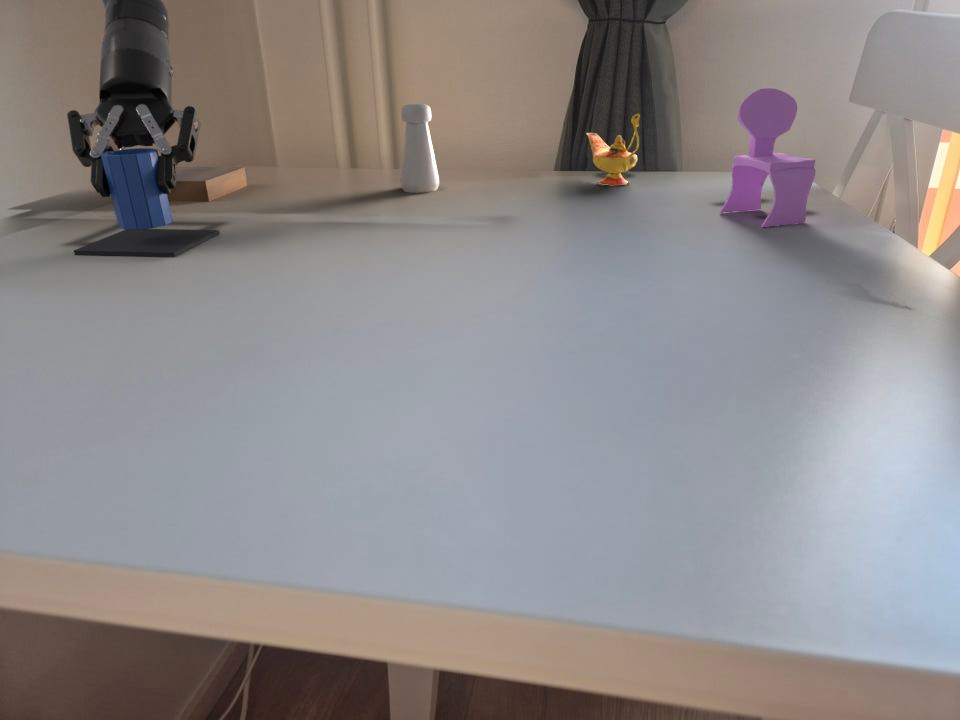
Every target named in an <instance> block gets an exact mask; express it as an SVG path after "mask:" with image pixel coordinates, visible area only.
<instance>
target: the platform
mask: <svg viewBox="0 0 960 720" xmlns="http://www.w3.org/2000/svg"><path fill="white" fill-rule="evenodd" d="M245 169H246V168H245V167H244V166H176V186H175V188H174V189H171V193H170V194H167V196H168V201H169V202H199V203H201V202H202V203H203V202H204V203H205V202H206V203H210V202H212V201H215V200H217V199H219V198H221V197H224V196H226V195H228V194H232V193H234V192H236V191H238V190H241V189H243V188H246V187H247V186H248V183H247V176H246V170H245Z"/></svg>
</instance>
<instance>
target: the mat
mask: <svg viewBox="0 0 960 720" xmlns="http://www.w3.org/2000/svg"><path fill="white" fill-rule="evenodd" d="M218 235H220V231H219V229H177V228H176V229H173V228H172V229H171V228H170V229H169V228H151V229H142V230H125V229H122V230H120V231H119V232H116V233H113V234H110V235H108V236H106V237H104V238H101V239H98V240H96V241H93V242H91V243H89V244H86V245H84V246H81V247H79V248H76V249H74V250H73V254H74V255H75V256H119V257H156V258H157V257H161V258H162V257H163V258H165V257H166V258H176V257H177V256H180V255H181V254H184V253H185V252H187V251H189V250H191V249H193V248H194V247H197V246H199V245H201V244H203V243H205V242H207V241H209V240H210V239H212V238H214V237H216V236H218Z"/></svg>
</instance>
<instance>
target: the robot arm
mask: <svg viewBox="0 0 960 720" xmlns="http://www.w3.org/2000/svg"><path fill="white" fill-rule="evenodd" d="M101 1H102V3H103V7H104V10H105V14H104V34H103V38H102V41H101V42H102V43H101V49H100V66H99V67H100V70H99V89H98V90H99V91H98V92H99V94H98V95H99V97H98V98H99V103H98V105H97V107H96V108H95V109H94V112H92V113H86V114H80V113H79V111H77V110H76V109H73V110H69V111H68V112H67V114H66V116H67V123H68V129H69V135H70V136H69V137H70V141H71V149H72V150H71V151H72V152H73V153H74V155H75V156H76V158H77V159H78V161H79V162H80V164H81V165H82V166H83V167H84V168H90V184H91V185H92V188H94V190H95V192H96V193H97V194H99V195H100V196H101V197H102V198H111V194H110V190H109V186H108V182H107V178H106V174H105V170H104V166H103V162H102V158H101V154H102V153H104V152H109V151H115V150H122V149H124V150H125V149H126V148H133V147H137V146H140V147H141V146H142V147H153V146H155V148H156V149H157V150H158V153H159V154H160V155H159V156H158V184H159V187H160V189H161V191H162V192H163V194H170V193H171V189H174V188H175V186H176V167H178V165H179V164H180V163H181V162H185V163H191V162H193V161H194V160H195V157H196V151H197V145H198V140H199V134H200V130H201V124H202V123H201V121H200V118H199V115H198V113H197V111H196V109H195V107H194V106H192V105H187V106H185V108H184V109H183V110H180V109H179V110H178V109H174V108H173V106H172V105H173V100H172V99H173V97H172V96H173V94H172V91H173V88H172V86H173V81H172V79H173V75H174V74H173V73H174V72H173V62H172V54H171V50H170V49H171V48H170V27H171V26H170V16H169V12H168V9H167V7H166V5H165V3H164V2H163V1H162V0H101ZM175 123H177V124H178V127H179V132H178V138H177V142H176V144H175V145H170V143H169V142H168V140H167V138H166V137H165V135H166V134H167V132H169V131H170V129H171V128H172V127H173V126H174V125H175ZM97 126H100V127H101V128H100V129H99V131H98V133H97V136H96V137H97V138H96V139H97V140H96V141H95V143H94V145H93V147H92V146H91V139H90V137H93V135H94V134H93V133H94V129H95V127H97Z"/></svg>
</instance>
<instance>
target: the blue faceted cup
mask: <svg viewBox="0 0 960 720" xmlns="http://www.w3.org/2000/svg"><path fill="white" fill-rule="evenodd" d="M158 156H160V155H159V151H158V149H157V148H152V147H151V148H149V147H145V148H144V147H141V148H138V147H137V148H125V149H122V150H115V151H109V152H104V153H102V154H101V158H102V162H103V166H104V170H105V174H106V178H107V182H108V186H109V190H110V198H111V201H112V202H111V203H112V206H113V208H114V213H115V214H114V215H115V218H116V221H117V225H118V228H119V229H121V230H142V229H158V228H160V227H161V228H162V227H164V226H167V225H171V224H172V223H173V221H174V220H173V215H172V210H171V205H170V201H168V196H167V194H163V192H162V191H161V189H160V187H159V184H158Z"/></svg>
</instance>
